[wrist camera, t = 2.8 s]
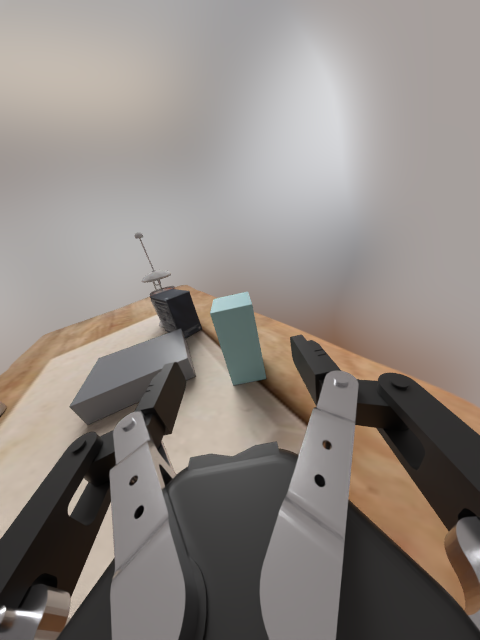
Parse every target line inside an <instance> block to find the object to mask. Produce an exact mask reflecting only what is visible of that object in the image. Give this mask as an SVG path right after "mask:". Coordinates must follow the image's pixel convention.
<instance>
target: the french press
mask: <svg viewBox="0 0 480 640" xmlns="http://www.w3.org/2000/svg"><path fill="white" fill-rule="evenodd" d="M141 237H143V235H142V234H141V233H136V234H135V238H139V239H140V238H141ZM140 241H141V239H140ZM141 243H142V241H141ZM142 246H143V244H142ZM143 248H144V246H143ZM144 250H145V248H144ZM145 253H146V250H145ZM146 255H147V253H146ZM147 257H148V255H147ZM148 260H149V257H148ZM149 262H150V260H149ZM150 264H151V262H150ZM151 266H152V265H151ZM152 269H153V267H152ZM170 275H171V273H170V272H167V271H156V270H153V271H152V272H151V273H149V274H147V275H146V276H145V277H144V278H143V280H142V282H144V283H145V282H152V281H153V284H154V286H155V285H156V284H155V283H154V281H156V280H157V281H158V283H159V284H158V285H160V287H161V282H160V279H163V278H166V277H168V276H170ZM174 288H175V287H174V286H170V287H165V288H162V287H161V289H159V290H158V289H156V287H155V289H156V290H155V291H153V292H151V293H150V296H152V295H155V294H158V293H161V292H164V291H167V290H170V289H174ZM151 302H152V300H151ZM152 304H153V302H152ZM153 305H154V304H153ZM154 308H155V307H154ZM155 310H156V308H155ZM156 312H157V311H156ZM157 314H158V312H157ZM158 316H159V315H158ZM159 319H160V317H159ZM159 326H160V327H164V326H163V323H162V321H161V319H160V323H159Z"/></svg>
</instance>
